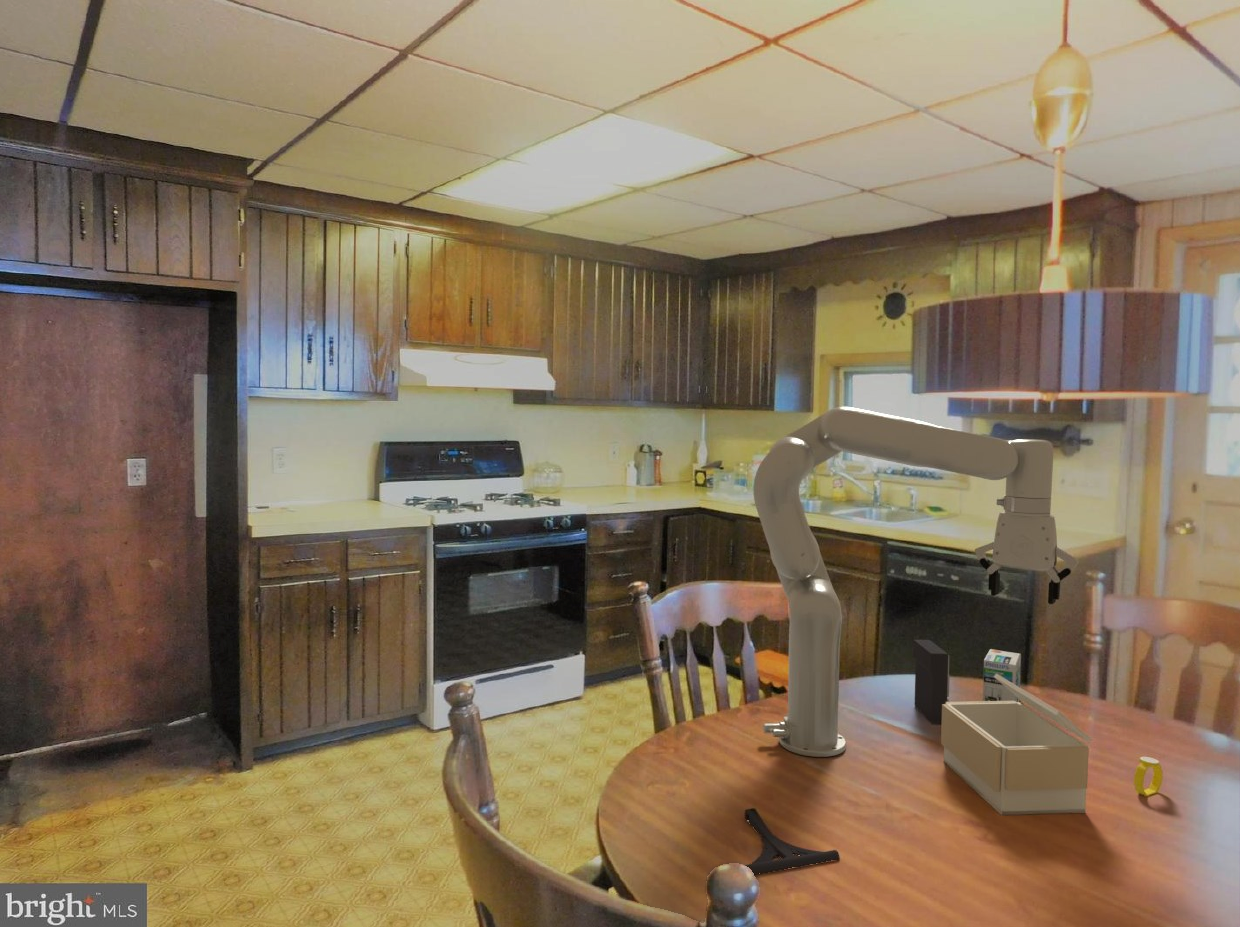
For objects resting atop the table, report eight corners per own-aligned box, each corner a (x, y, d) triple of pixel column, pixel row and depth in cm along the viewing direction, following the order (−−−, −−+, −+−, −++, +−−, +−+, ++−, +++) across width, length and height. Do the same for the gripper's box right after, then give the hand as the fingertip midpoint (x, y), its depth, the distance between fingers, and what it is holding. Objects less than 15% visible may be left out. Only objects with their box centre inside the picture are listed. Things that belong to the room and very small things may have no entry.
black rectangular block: (950, 725, 167) (952, 653, 166) (929, 724, 167) (931, 653, 166) (931, 706, 178) (932, 639, 177) (911, 705, 178) (913, 639, 177)
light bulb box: (1015, 714, 173) (1017, 665, 172) (981, 708, 177) (983, 660, 176) (1020, 699, 182) (1021, 652, 182) (987, 694, 186) (989, 648, 185)
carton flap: (1056, 715, 129) (1059, 711, 129) (993, 676, 148) (996, 673, 148) (1089, 743, 130) (1092, 739, 130) (1022, 701, 149) (1025, 698, 149)
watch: (1148, 788, 139) (1151, 754, 139) (1165, 795, 137) (1168, 760, 137) (1128, 793, 136) (1131, 758, 136) (1145, 800, 134) (1148, 764, 134)
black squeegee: (788, 815, 130) (788, 798, 130) (839, 864, 116) (840, 845, 115) (706, 829, 126) (706, 811, 125) (748, 881, 111) (749, 861, 111)
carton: (999, 817, 128) (1001, 750, 127) (937, 760, 150) (939, 702, 149) (1088, 815, 129) (1091, 748, 128) (1014, 758, 150) (1016, 700, 150)
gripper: (972, 504, 150) (967, 594, 151) (1077, 512, 139) (1071, 610, 140) (983, 501, 156) (979, 588, 157) (1084, 509, 145) (1079, 602, 146)
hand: (1022, 598), depth 149 cm, fingers open, 9 cm apart
